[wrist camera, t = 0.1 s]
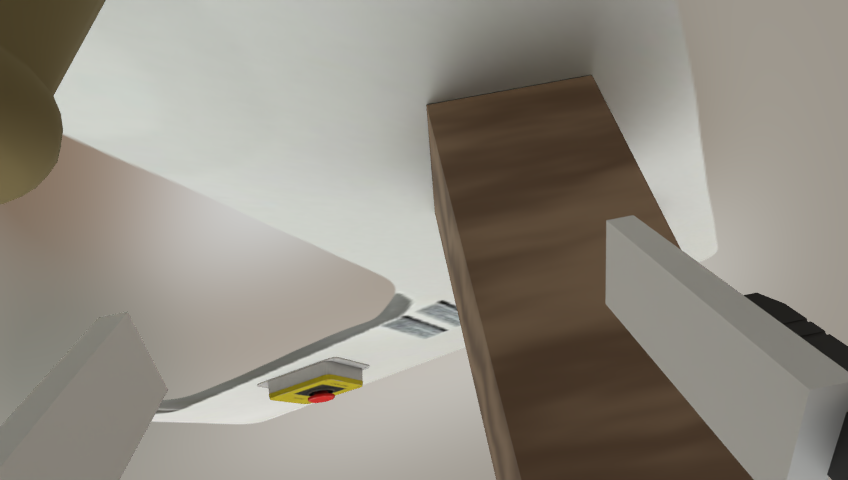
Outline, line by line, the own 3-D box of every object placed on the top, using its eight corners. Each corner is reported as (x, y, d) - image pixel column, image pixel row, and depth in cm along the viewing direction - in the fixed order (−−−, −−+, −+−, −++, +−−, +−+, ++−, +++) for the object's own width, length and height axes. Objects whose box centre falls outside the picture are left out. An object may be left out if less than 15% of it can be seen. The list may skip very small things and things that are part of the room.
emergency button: (375, 391, 71) (297, 415, 76) (371, 362, 74) (296, 388, 79) (337, 384, 64) (254, 411, 69) (334, 352, 66) (254, 381, 71)
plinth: (426, 105, 28) (724, 1278, 10) (591, 75, 28) (1147, 1164, 11) (435, 213, 38) (590, 888, 21) (555, 190, 39) (806, 836, 21)
